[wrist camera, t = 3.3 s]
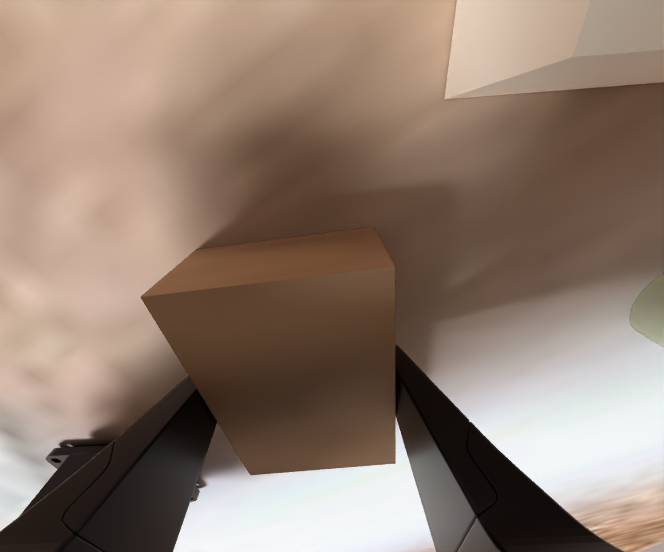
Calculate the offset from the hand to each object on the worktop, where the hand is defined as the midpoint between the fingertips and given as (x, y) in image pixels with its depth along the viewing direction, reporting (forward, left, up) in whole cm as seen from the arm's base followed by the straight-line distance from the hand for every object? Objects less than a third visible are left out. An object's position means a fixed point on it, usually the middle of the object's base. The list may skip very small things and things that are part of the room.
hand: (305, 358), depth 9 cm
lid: (0, 0, -1) cm, 1 cm away
